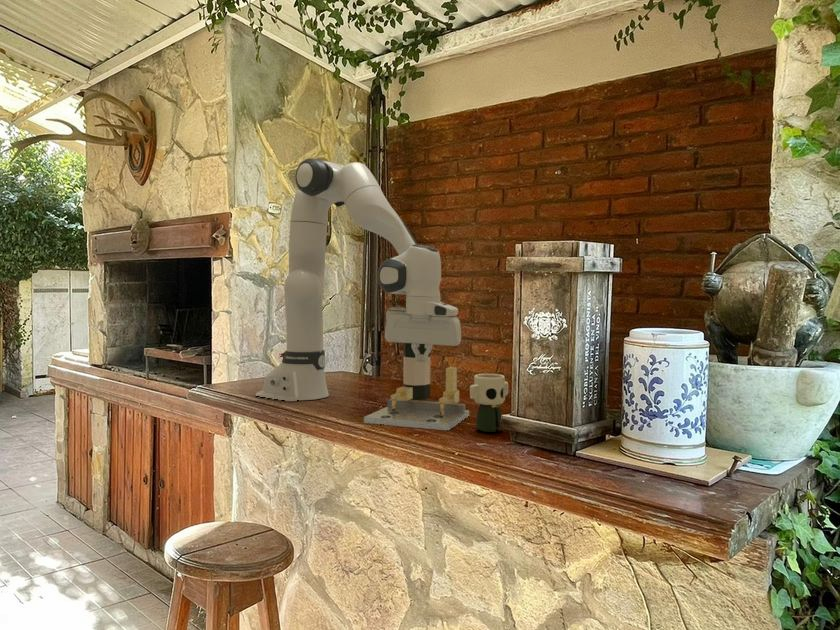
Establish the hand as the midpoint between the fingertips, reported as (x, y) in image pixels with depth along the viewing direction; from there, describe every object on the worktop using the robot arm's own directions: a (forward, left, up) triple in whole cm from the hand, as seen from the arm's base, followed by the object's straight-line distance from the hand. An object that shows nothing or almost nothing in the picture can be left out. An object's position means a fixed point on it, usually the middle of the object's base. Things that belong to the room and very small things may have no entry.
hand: (421, 361), depth 156 cm
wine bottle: (-12, +26, -15) cm, 32 cm away
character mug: (+20, -9, -15) cm, 27 cm away
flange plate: (0, -4, -14) cm, 15 cm away
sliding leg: (+8, -1, -12) cm, 15 cm away
